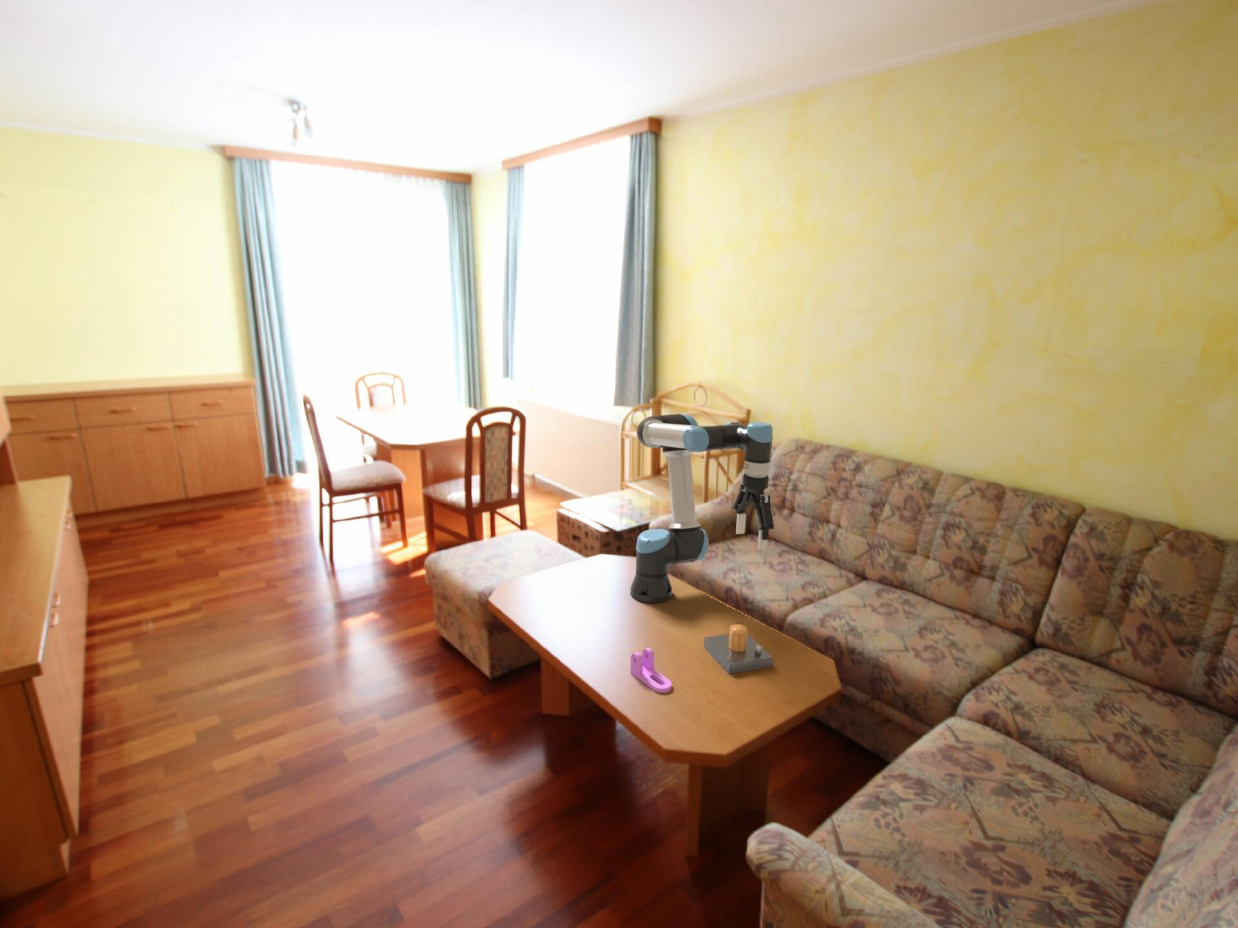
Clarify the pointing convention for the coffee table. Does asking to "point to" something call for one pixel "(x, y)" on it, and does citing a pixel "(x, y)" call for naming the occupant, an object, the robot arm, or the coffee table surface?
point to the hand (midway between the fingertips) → (750, 541)
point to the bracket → (649, 671)
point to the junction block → (737, 654)
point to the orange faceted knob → (738, 637)
